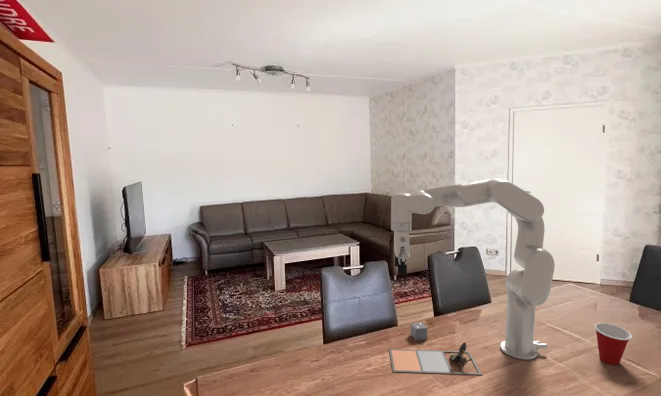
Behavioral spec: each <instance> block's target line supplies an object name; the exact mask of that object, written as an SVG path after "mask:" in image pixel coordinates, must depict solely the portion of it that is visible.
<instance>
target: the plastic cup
mask: <svg viewBox="0 0 661 396" xmlns="http://www.w3.org/2000/svg"><path fill="white" fill-rule="evenodd" d="M594 330H595V332H596V339H597V350H598V356H599V359H600V361H602V362H603V363H605V364H608V365H612V366H618V365H620V363H621V362H622V361H621V360H622V358H623V356H624V353H625V350H626V347H627V344H628V342H629V341H630V340H631V339H632V338H633V335H632V333H631V332H629V330H627V329H624V328H623V327H621V326H617V325H615V324H611V323H607V322H597V323H595V324H594Z"/></svg>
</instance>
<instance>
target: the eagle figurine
mask: <svg viewBox="0 0 661 396" xmlns="http://www.w3.org/2000/svg"><path fill="white" fill-rule="evenodd" d="M458 351H459V353H452V354H450V355H449V357H450V359H451V360H453V361H454V360H455V359H456V360H457V362H458V364H459V365H460V367H459V368H460V370H461V369H462V368H463V367H464V366H465V364H467V363H468V362H471V361H472V358H469V359H467V357H466V356H464V354H465V353H464V352H465V351H467V343H466V342H463V343H462V344H461V345H460V346H459V349H458Z"/></svg>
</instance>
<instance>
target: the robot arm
mask: <svg viewBox="0 0 661 396" xmlns="http://www.w3.org/2000/svg"><path fill="white" fill-rule="evenodd" d="M390 200H391V201H390V203H391V204H390V206H391V208H390V209H391V210H390V211H391V212H390V229H391V231H393V249H394V250H393V251H394V254H395V256H394V266H395V267H397V275H399V276H406V275H407V274H408V273H407V272H408V269H407V268H408V264H407V259H410V257H411V253H410V250H411V248H410V244H411V243H410V232H411V231H412V224H413V223H412V221H413V216H412V214H420V215H427V214H430V213H431V212H433V210H434V209H435V208H438V207H453V208H466V207H472V206H478V205H482V204H483V205H484V204H489V203H495V204H497V205H499V206H500V207H502V208H504V210H507V212H508V213H509V215H511V216H513V217H514V219H515V220H516V224H517V236H516V242H515V248H514V253H513V257H514V258H513V259H514V261H515V262H516V264H517V265H519V266H520V267H521V268H518V269H517V268H516V269H513V270H511V271H510V272H509V273H508V274H507V276H506V280H505V287H506V316H505V317H506V319H505V336H504V337H505V339H504V340H503V341H501V342H500V347H499V348H500V350H501V351H502V352H503V353H504V354H506V355H507V356H510V357H511V358H515V359H518V360H522V361H523V360H525V361H528V360H529V361H530V360H534V359H535V358H537V357H538V350H540V349H541V350H547V349H548V345H547V343H541V342H540V340H535V338H534V337H535V323H536V309H537V308H536V307H539V306H541V305H544V303H546V302H547V300H548V299H549V296H550V294H551V289H552V284H553V278H554V273H555V259H554V257H553V255H552V254H551V252H549V251H548V250H547V249H545V248H544V240H545V239H544V238H545V229H546V228H545V221H544V219H543V216H544V213H545V207H544V204H543V202H542V201H541V200H540V199H539V198H538V197H537V198H536V197H535V196H533V195H532V194H531V193H529V192H528V191H525V190H523V189H522V188H521V187H519V186H518V185H516V184H514V183H513V182H510V181H508V180H507V179H501V178H495V177H494V178H487V179H481V180H476V181H470V182H465V183H460V184H453V185H447V186H440V187H433V188H426V189H421V190H417V191H415V192H413V193H412V194H411V193H409V192H395V193H393V194H392V195H391V199H390ZM522 268H523V269H522Z"/></svg>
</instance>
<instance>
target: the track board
mask: <svg viewBox="0 0 661 396" xmlns="http://www.w3.org/2000/svg"><path fill="white" fill-rule="evenodd" d="M388 352H389V357H390V362H391V363H390V364H391V369H392V373H402V374H403V373H404V374H406V373H407V374H431V375H432V374H435V375H436V374H438V375H464V376H467V375H468V376H483V374H482V373H483V372H481V370H480V368H479V366H478V364H477V362H476V361H475V359H474V357H473V355H472V354H471V351H469V350H465V352H464V354H468V356H469V359H471V358H472V360H471V361H472V364H473V365H474V367H475V369H476V371H477V372H460V371H459V372H458V371H452V368H451V366H450V363H449V361H448V358H447V356H446V354H445V353H450V354H459V350H439V349H435V350H432V349H431V350H429V349H406V348H405V349H401V348H400V349H399V348H398V349H397V348H396V349H395V348H388Z"/></svg>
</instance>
